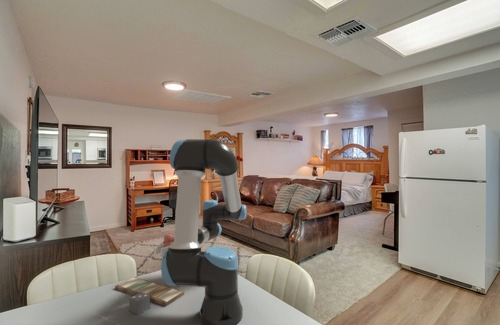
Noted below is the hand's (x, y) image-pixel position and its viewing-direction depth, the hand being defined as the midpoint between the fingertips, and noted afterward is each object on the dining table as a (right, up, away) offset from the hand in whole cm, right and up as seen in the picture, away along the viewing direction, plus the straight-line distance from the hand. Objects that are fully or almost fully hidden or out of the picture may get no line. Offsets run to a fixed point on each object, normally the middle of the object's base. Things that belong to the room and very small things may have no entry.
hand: (158, 251), depth 97 cm
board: (-7, -20, +9) cm, 24 cm away
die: (-5, -20, -4) cm, 21 cm away
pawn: (+3, -7, +5) cm, 9 cm away
